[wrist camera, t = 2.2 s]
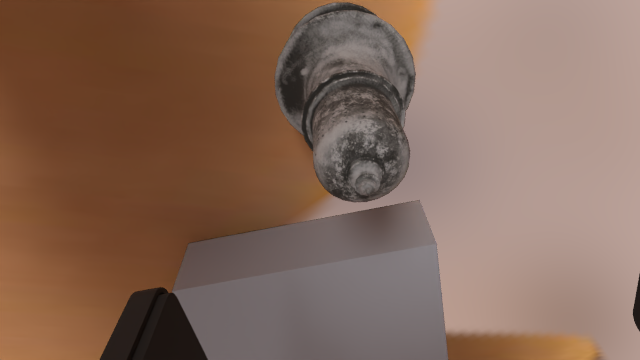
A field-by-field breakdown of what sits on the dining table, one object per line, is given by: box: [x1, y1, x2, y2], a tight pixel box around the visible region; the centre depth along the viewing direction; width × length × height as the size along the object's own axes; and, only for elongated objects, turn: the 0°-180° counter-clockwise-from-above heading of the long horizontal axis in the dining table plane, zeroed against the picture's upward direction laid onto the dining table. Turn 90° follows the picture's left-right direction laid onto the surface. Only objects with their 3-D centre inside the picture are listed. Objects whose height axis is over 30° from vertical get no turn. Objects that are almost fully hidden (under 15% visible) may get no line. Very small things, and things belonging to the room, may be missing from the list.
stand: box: [172, 200, 448, 360], centre depth 29 cm, size 14×14×4 cm
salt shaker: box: [275, 3, 416, 202], centre depth 17 cm, size 6×6×12 cm
